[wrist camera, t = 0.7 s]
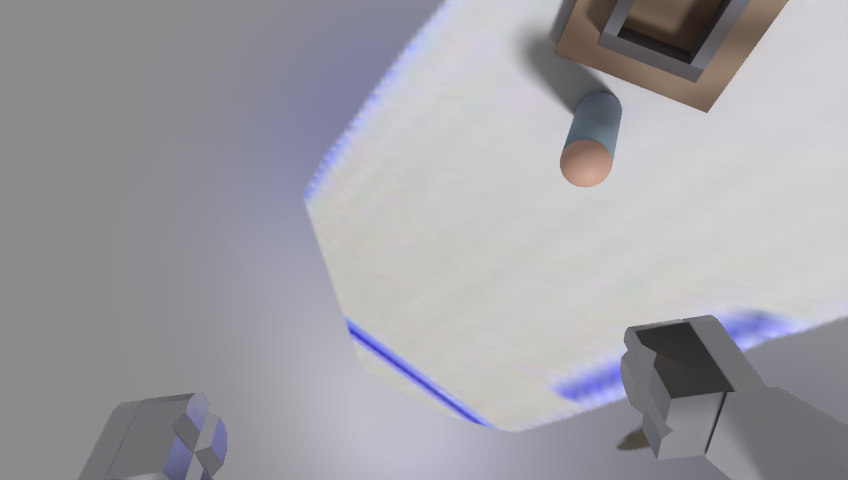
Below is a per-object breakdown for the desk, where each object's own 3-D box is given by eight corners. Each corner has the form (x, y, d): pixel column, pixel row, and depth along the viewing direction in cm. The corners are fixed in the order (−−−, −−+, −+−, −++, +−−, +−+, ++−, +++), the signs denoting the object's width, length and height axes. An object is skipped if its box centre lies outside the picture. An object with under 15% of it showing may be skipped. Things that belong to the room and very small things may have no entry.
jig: (637, -139, 38) (633, -134, 35) (833, -72, 37) (847, -59, 34) (557, 47, 49) (548, 64, 46) (706, 105, 47) (708, 128, 44)
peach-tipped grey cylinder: (588, 84, 50) (569, 144, 42) (630, 101, 50) (619, 165, 41) (569, 122, 53) (548, 184, 45) (608, 138, 53) (594, 204, 44)
